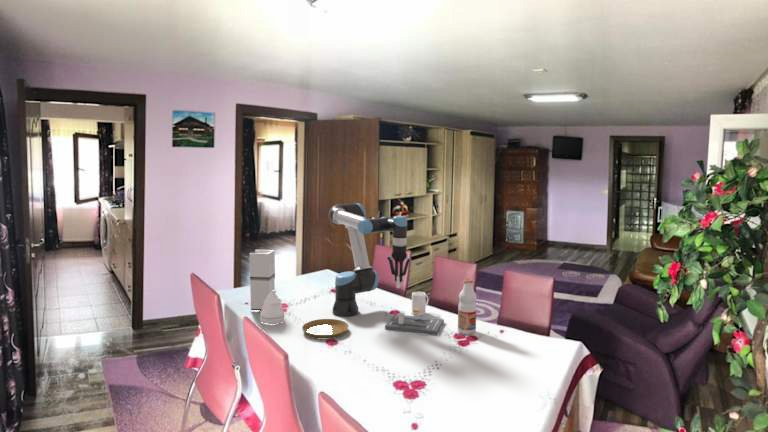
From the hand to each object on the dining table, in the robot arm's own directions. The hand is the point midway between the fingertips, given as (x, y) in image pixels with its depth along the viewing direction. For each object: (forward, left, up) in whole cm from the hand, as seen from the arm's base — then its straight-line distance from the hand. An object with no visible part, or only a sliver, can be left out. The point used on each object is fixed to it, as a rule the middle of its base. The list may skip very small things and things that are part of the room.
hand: (398, 287), depth 285 cm
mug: (+7, +23, -21) cm, 32 cm away
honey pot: (-68, -16, -21) cm, 73 cm away
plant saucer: (-33, -23, -21) cm, 46 cm away
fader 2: (+9, +5, -18) cm, 21 cm away
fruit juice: (+37, 0, -21) cm, 43 cm away
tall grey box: (-83, 0, -21) cm, 85 cm away
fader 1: (+3, -5, -18) cm, 19 cm away
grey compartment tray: (+9, 0, -21) cm, 23 cm away
